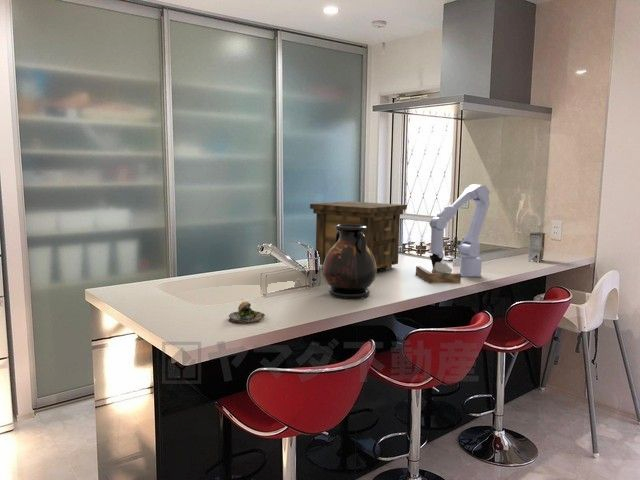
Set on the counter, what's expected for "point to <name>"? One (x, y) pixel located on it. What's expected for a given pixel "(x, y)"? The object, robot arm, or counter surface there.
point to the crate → (372, 215)
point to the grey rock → (441, 267)
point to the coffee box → (536, 246)
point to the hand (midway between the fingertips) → (435, 270)
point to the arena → (438, 276)
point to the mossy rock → (245, 314)
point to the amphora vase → (349, 263)
